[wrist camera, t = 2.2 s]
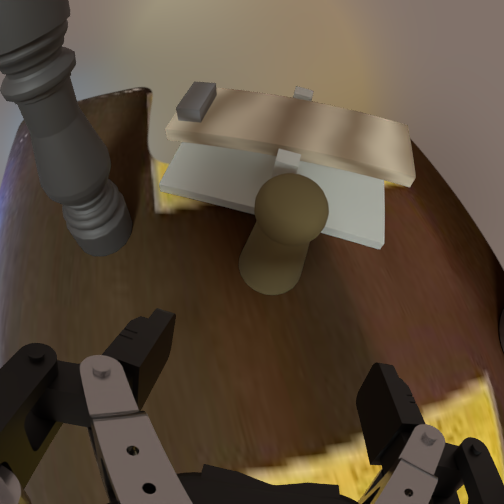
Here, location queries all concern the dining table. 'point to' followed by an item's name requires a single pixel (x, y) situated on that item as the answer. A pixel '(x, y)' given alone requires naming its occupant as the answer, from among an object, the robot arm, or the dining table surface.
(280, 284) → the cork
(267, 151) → the beam
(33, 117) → the candle holder
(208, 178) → the beam stand
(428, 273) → the dining table surface
